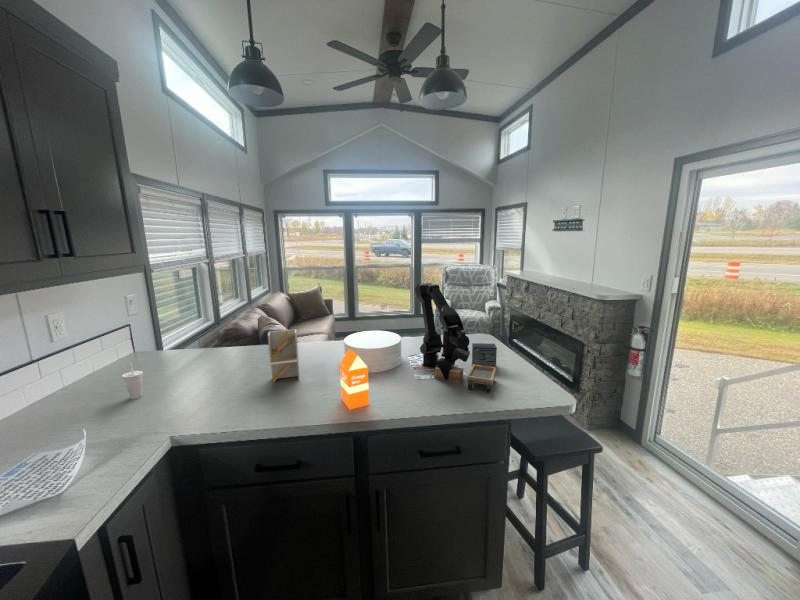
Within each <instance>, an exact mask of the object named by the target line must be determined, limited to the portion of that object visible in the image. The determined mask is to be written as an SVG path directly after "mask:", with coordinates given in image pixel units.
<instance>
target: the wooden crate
mask: <svg viewBox="0 0 800 600" xmlns="http://www.w3.org/2000/svg"><path fill="white" fill-rule="evenodd" d="M267 340H268V352H269V360H270V367H271V379H272V382H273V383H276V381H277V379H284V378H293V377H297V378H298V381H300V380H301V378H300V377H301V374H300V364H299V360H300V359H299V351H298V350H299V349H298V348H299V347H298V335H297V329H288V324H285V330H284V329H283V330H274V331H268V332H267Z"/></svg>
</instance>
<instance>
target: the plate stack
mask: <svg viewBox="0 0 800 600" xmlns="http://www.w3.org/2000/svg"><path fill="white" fill-rule="evenodd" d="M349 348H350V349H351V350H352V351H353V352H355V353H356V354H357V355H358V356H359V357H360V359H361V360H362V361H363V362H364V363H365V365H366V366H367V367H368V373H377V372H378V373H379V372H384V371H388V370H392V369H395V368H396V366H397V367H398V366H399V365H400V364H402V336H401V335H399V334H398V333H396V332H393V331H386V330H365V331H357V332H354V333H351V334H349V335H347V336H345V338H344V339H343V354H344V356H345V354H346V353H347V351H348V349H349ZM394 367H395V368H394Z"/></svg>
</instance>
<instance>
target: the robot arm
mask: <svg viewBox="0 0 800 600" xmlns="http://www.w3.org/2000/svg"><path fill="white" fill-rule="evenodd" d="M414 291H415V292H414V293H415V294H416V298H417V300H418V301H419V302H420V303H421V310H422V317H423V324H424V336H423V337H422V338H423V339H422V341H423V343H422V344H421V346H420V347H419V350H420V351H419V352H420V353H422V360H423V361H422V364H421V366H422V367H427V366H428V367H429V368H435V367H438V368H440V370H441V372H442V374H443V376H444V378H445V380H448V378H449V373H450V370H451V369H452V368H453V367H455V364H456V361H457V360H461V361H462V362H463V363H467V361H468V359H469V357H470V355H471V351H469V348H470V347H469V345H470V338H469V336H468V335H466V332H465V331H464V330H465V328H464V324H463V322H462V319H461V317H460V315H459V313H458V311H456V310H455V308H452V307H451V306H450V305H449V303H448V302H447V300H446V297H444V295H443V293H442V291H441V289H440V286H439V284H435V283H434V284H432V283H431V282H426V283H417V285H416V286H415V288H414ZM432 301H433V302H432ZM432 303H434V305H435V307H436V308H437V310H438V313H439V317H438V319H439V322H440V325H441V327H440V329H441V330H442V335H441V334H439V333H438V332H437V331H436V323H435V314H434V309H433V304H432ZM441 351H442V353H441ZM440 353H441V358H439V357H440V356H439V354H440ZM436 365H437V366H436ZM445 380H444V381H445Z"/></svg>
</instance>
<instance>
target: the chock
mask: <svg viewBox="0 0 800 600" xmlns="http://www.w3.org/2000/svg"><path fill="white" fill-rule="evenodd" d="M436 378H438V379H437V380H440V379H442V380H441V381H445V378H444V376H443V374H442V372H441V370H440V368H438V367H437V366H436V367H434V379H436ZM463 380H464V368H463V367H459V366H454V367H453V368H452V369H451V370H450V373H449V378H448V380H446V381H447V382H449V383H454V382H455V384H460V383H461V382H462V381H463Z"/></svg>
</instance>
